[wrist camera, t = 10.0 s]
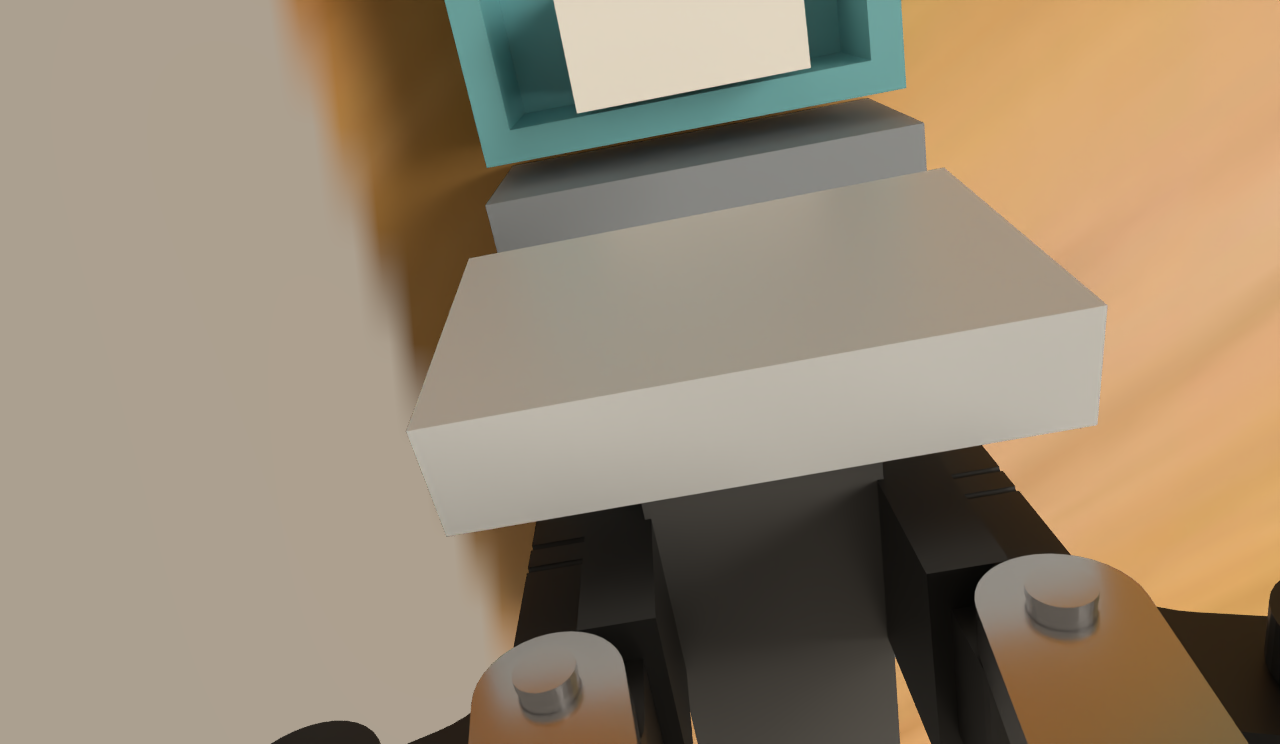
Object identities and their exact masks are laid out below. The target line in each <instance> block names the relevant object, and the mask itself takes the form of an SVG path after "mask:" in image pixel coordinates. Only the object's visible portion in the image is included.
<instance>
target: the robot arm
mask: <svg viewBox="0 0 1280 744" xmlns="http://www.w3.org/2000/svg"><path fill="white" fill-rule="evenodd" d="M883 478H884V479H880V480H877V486H878V501H879V516H880V530H881V545H882V560H883V575H884V589H885V604H886V619H887V634H888V640H889V642H890V645H891V647H892V650H893V652H894V654H895V657H896V659H897V662H898V664H899V667H900V669H901V671H902V674H903V676H904V679H905V681H906V684H907V686H908V688H909V691H910V693H911V696H912V698H913V701H914V703H915V706H916V708H917V710H918V713H919V715H920V718H921V720H922V723H923V725H924V727H925V730H926V732H927V735H928V737H929V740H930V742H931V744H1280V581H1279V582H1278V583H1277V584H1275V586H1274V588H1273V589H1272V591H1271V594H1270V600H1269V608H1268V616H1252V615H1235V614H1217V613H1200V612H1187V611H1177V610H1171V609H1166V608H1160V607H1156V605H1155V604H1154V602H1153V601H1152V599H1151V598H1150V596H1149V595H1148V594H1147V593H1146V591H1145V590H1144V589H1143V588H1142V586H1140V585H1139V584H1138V583H1137V582H1136V581H1135V580H1133V579H1132V578H1131V577H1129V576H1128V575H1126V574H1124V573H1123V572H1121V571H1119V570H1117V569H1115V568H1113V567H1111V566H1109V565H1107V564H1104V563H1101V562H1098V561H1095V560H1092V559H1087V558H1083V557H1079V556H1072V555H1070V553H1069V552H1068V551H1067V550H1066V548H1065V547H1064V546H1063V545H1062V543H1061V542H1060V541H1059V540H1058V539H1057V537H1056V536H1055V535H1054V534H1053V532H1052V531H1051V530H1050V529H1049V527H1048V526H1047V525H1046V524H1045V523H1044V521H1043V520H1042V519H1041V518H1040V516H1039V515H1038V514H1037V513H1036V511H1035V510H1034V509H1033V508H1032V506H1031V505H1030V504H1029V503H1028V502H1027V500H1026V499H1025V498H1024V497H1023V495H1022V494H1021V493H1020V492H1019V491H1016V490H1015V485H1014V484H1013V483H1012V482H1011V481H1010V479H1009V478H1008V477H1007V476H1006V474H1005V473H1004V472H1003V471H1000V469H999V466H998V465H997V463H996V462H995V461H994V460H993V458H992V457H991V456H990V455H989V453H988V452H987V451H986V450H985V448H984V447H983V446H982V445H978V446H972V447H967V448H961V449H955V450H949V451H943V452H937V453H932V454H926V455H920V456H914V457H908V458H902V459H897V460H891V461H885V462H883ZM532 547H533V551H531V555H530V560H529V566H528V569H529V573H527V577H526V582H525V588H524V593H523V599H522V604H521V610H520V615H519V621H518V626H517V632H516V637H515V643H514V648H512V649H510V650H509V651H508V652H506V653H505V654H503V655H502V656H500V657H499V658H498V659H497V660H496V661H495V662H494V663H493V664H491V665H490V667H489V668H488V669H487V670H486V671H485V672H484V674H483V675H482V677H481V678H480V680H479V682H478V683H477V685H476V688H475V690H474V693H473V697H472V702H471V713H470V714H468V715H467V716H466V717H464V718H463V719H461V720H459V721H457V722H456V723H454V724H452V725H450V726H448V727H446V728H444V729H442V730H439V731H437V732H435V733H432V734H430V735H427V736H425V737H423V738H420V739H418V740H415V741H413V742H411V743H408V744H693V739H692V727H691V716H690V704H689V693H688V681H687V670H686V666H685V662H684V657H683V653H682V649H681V644H680V640H679V636H678V631H677V627H676V623H675V619H674V614H673V610H672V606H671V601H670V597H669V593H668V588H667V584H666V580H665V576H664V571H663V567H662V563H661V558H660V554H659V550H658V545H657V541H656V537H655V533H654V528H653V524H652V520H651V519H646V520H645V517H644V513H643V509H642V504H641V503H640V504H634V505H629V506H623V507H617V508H611V509H605V510H599V511H594V512H588V513H582V514H576V515H570V516H565V517H559V518H553V519H547V520H541V521H537V522H536V527H535V533H534V538H533V544H532ZM271 744H381V743H380V741H379V739H378V738H377V736H376V735H375V734H374V732H373V731H372V730H370V729H369V728H367V727H366V726H364V725H361V724H359V723H355V722H350V721H330V722H322V723H318V724H314V725H310V726H307V727H304V728H302V729H299V730H297V731H294V732H292V733H290V734H288V735H286V736H284V737H282V738H280V739H278V740H277V741H275V742H273V743H271Z"/></svg>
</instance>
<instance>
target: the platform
mask: <svg viewBox="0 0 1280 744" xmlns="http://www.w3.org/2000/svg"><path fill="white" fill-rule="evenodd" d="M923 171H927V168H926V150H925V131H924V123H923V122H921V121H918V120H916V119H914V118H912V117H909V116H907V115H905V114H903V113H900V112H898V111H896V110H894V109H891V108H889V107H887V106H885V105H882V104H880V103H878V102H876V101H873V100H871V99H869V98H866V99H861V100H856V101H851V102H845V103H840V104H835V105H830V106H824V107H819V108H814V109H809V110H803V111H798V112H793V113H788V114H782V115H777V116H772V117H767V118H761V119H756V120H751V121H746V122H740V123H735V124H730V125H725V126H719V127H714V128H709V129H704V130H698V131H693V132H688V133H683V134H677V135H672V136H667V137H662V138H656V139H651V140H646V141H641V142H635V143H630V144H625V145H620V146H614V147H609V148H604V149H599V150H593V151H588V152H583V153H578V154H572V155H567V156H562V157H557V158H551V159H546V160H541V161H536V162H530V163H525V164H520V165H515V166H512V168H511V169H510V171H509V172H508V174H507V175H506V176H505V178H504V179H503V181H502V182H501V184H500V185H499V186H498V188H497V189H496V191H495V192H494V194H493V195H492V197H491V198H490V199H489V201H488V202H487V204H486V205H485V206H486V210H487V214H488V218H489V222H490V225H491V229H492V233H493V237H494V241H495V245H496V249H497V253H500V252H506V251H511V250H516V249H521V248H526V247H532V246H537V245H542V244H547V243H553V242H558V241H563V240H568V239H573V238H579V237H584V236H589V235H594V234H600V233H605V232H610V231H615V230H620V229H626V228H631V227H636V226H641V225H647V224H652V223H657V222H662V221H667V220H673V219H678V218H683V217H688V216H693V215H699V214H704V213H709V212H714V211H720V210H725V209H730V208H735V207H740V206H746V205H751V204H756V203H761V202H767V201H772V200H777V199H782V198H787V197H793V196H798V195H803V194H808V193H814V192H819V191H824V190H829V189H834V188H840V187H845V186H850V185H855V184H861V183H866V182H871V181H876V180H881V179H887V178H892V177H897V176H902V175H908V174H913V173H918V172H923ZM894 655H895V654H894Z"/></svg>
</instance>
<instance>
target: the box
mask: <svg viewBox="0 0 1280 744" xmlns="http://www.w3.org/2000/svg"><path fill="white" fill-rule="evenodd" d="M445 4H446V8H447V12H448V16H449V20H450V24H451V28H452V32H453V36H454V40H455V44H456V48H457V52H458V56H459V60H460V64H461V68H462V71H463V75H464V79H465V83H466V87H467V91H468V95H469V99H470V103H471V107H472V111H473V115H474V119H475V123H476V127H477V131H478V135H479V139H480V143H481V147H482V151H483V155H484V159H485V163H486V166H487V168H489V167H495V166H500V165H505V164H510V163H515V162H521V161H526V160H531V159H536V158H542V157H547V156H552V155H557V154H563V153H568V152H573V151H578V150H584V149H589V148H594V147H599V146H605V145H610V144H615V143H620V142H626V141H631V140H636V139H641V138H647V137H652V136H657V135H662V134H668V133H673V132H678V131H683V130H689V129H694V128H699V127H704V126H709V125H715V124H720V123H725V122H730V121H736V120H741V119H746V118H751V117H757V116H762V115H767V114H772V113H778V112H783V111H788V110H793V109H799V108H804V107H809V106H814V105H820V104H825V103H830V102H835V101H841V100H846V99H851V98H856V97H862V96H867V95H872V94H877V93H883V92H888V91H893V90H898V89H903V88H906V77H905V60H904V44H903V27H902V11H901V0H804V6H805V16H806V26H807V35H808V45H809V55H810V64H811V68H807V69H802V70H797V71H792V72H787V73H781V74H776V75H771V76H766V77H761V78H756V79H751V80H746V81H741V82H735V83H730V84H725V85H720V86H715V87H710V88H705V89H700V90H695V91H689V92H684V93H679V94H674V95H669V96H664V97H659V98H654V99H649V100H644V101H638V102H633V103H628V104H623V105H618V106H613V107H608V108H603V109H598V110H592V111H587V112H582V113H577V111H576V106H575V101H574V97H573V92H572V87H571V82H570V77H569V73H568V68H567V63H566V58H565V53H564V49H563V44H562V39H561V34H560V29H559V25H558V20H557V15H556V10H555V6H554V1H553V0H445Z"/></svg>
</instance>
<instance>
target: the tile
mask: <svg viewBox="0 0 1280 744" xmlns="http://www.w3.org/2000/svg"><path fill="white" fill-rule="evenodd" d="M553 1H554V6H555V10H556V15H557V20H558V25H559V29H560V34H561V39H562V44H563V49H564V53H565V58H566V63H567V68H568V73H569V77H570V82H571V87H572V92H573V97H574V101H575V106H576V111H577V113H582V112H587V111H592V110H598V109H603V108H608V107H613V106H618V105H623V104H628V103H633V102H638V101H644V100H649V99H654V98H659V97H664V96H669V95H674V94H679V93H684V92H689V91H695V90H700V89H705V88H710V87H715V86H720V85H725V84H730V83H735V82H741V81H746V80H751V79H756V78H761V77H766V76H771V75H776V74H781V73H787V72H792V71H797V70H802V69H807V68H811V64H810V55H809V45H808V35H807V26H806V16H805V6H804V0H553Z"/></svg>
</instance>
